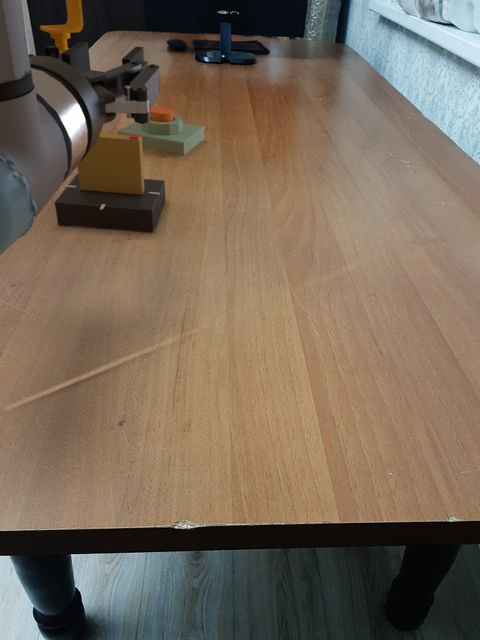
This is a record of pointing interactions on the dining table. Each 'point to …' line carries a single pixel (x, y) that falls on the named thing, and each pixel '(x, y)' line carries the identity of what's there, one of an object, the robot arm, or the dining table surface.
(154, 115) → the button
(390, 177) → the dining table surface
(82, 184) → the yellow angular block
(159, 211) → the black dial base
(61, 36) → the soap bottle
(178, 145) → the button box
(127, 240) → the dining table surface
